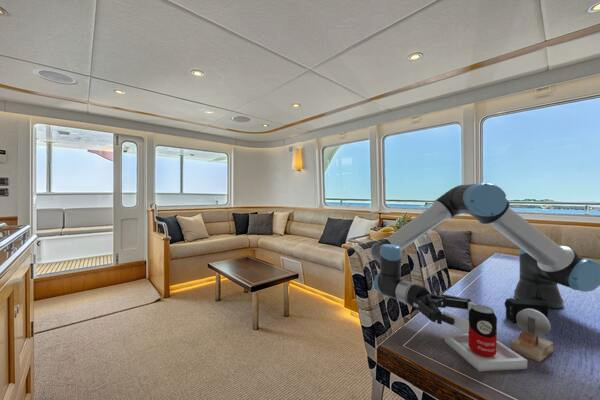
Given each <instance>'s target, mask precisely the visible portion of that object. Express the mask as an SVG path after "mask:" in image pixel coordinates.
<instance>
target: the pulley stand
mask: <svg viewBox="0 0 600 400" xmlns="http://www.w3.org/2000/svg"><path fill="white" fill-rule="evenodd" d="M516 321H517V326H518V327H519V328H520V329H521V330H522V332H520V333H519V336H518V337H516V338H515V339H513V340H512V341H511V346H510V347H511V348H510V349H511V350H513V351H514V352H516V353H517V354H519V355H520V356H524V357H527V358H529V359H532V360H533V361H535V362H538V363H540V362H541V361H543V360H544V359H545V358H547V357H548V356H549V355H551V353H553V352H554V350H555V349H554V347H555V345H554V344H555V343H554V341H552V340H549V339H547V338H546V339H545V338H543V337H544V336H546V335H548V333H550V331H551V329H552V328H551V327H552V326H551V322H550V320H549V318H547V317H546V316H545V315H544V314H542V313H541V312H539V311H537V310H535V309H529V308H528V309H523V310H521V311H520V312H518V313H517V315H516Z"/></svg>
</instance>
